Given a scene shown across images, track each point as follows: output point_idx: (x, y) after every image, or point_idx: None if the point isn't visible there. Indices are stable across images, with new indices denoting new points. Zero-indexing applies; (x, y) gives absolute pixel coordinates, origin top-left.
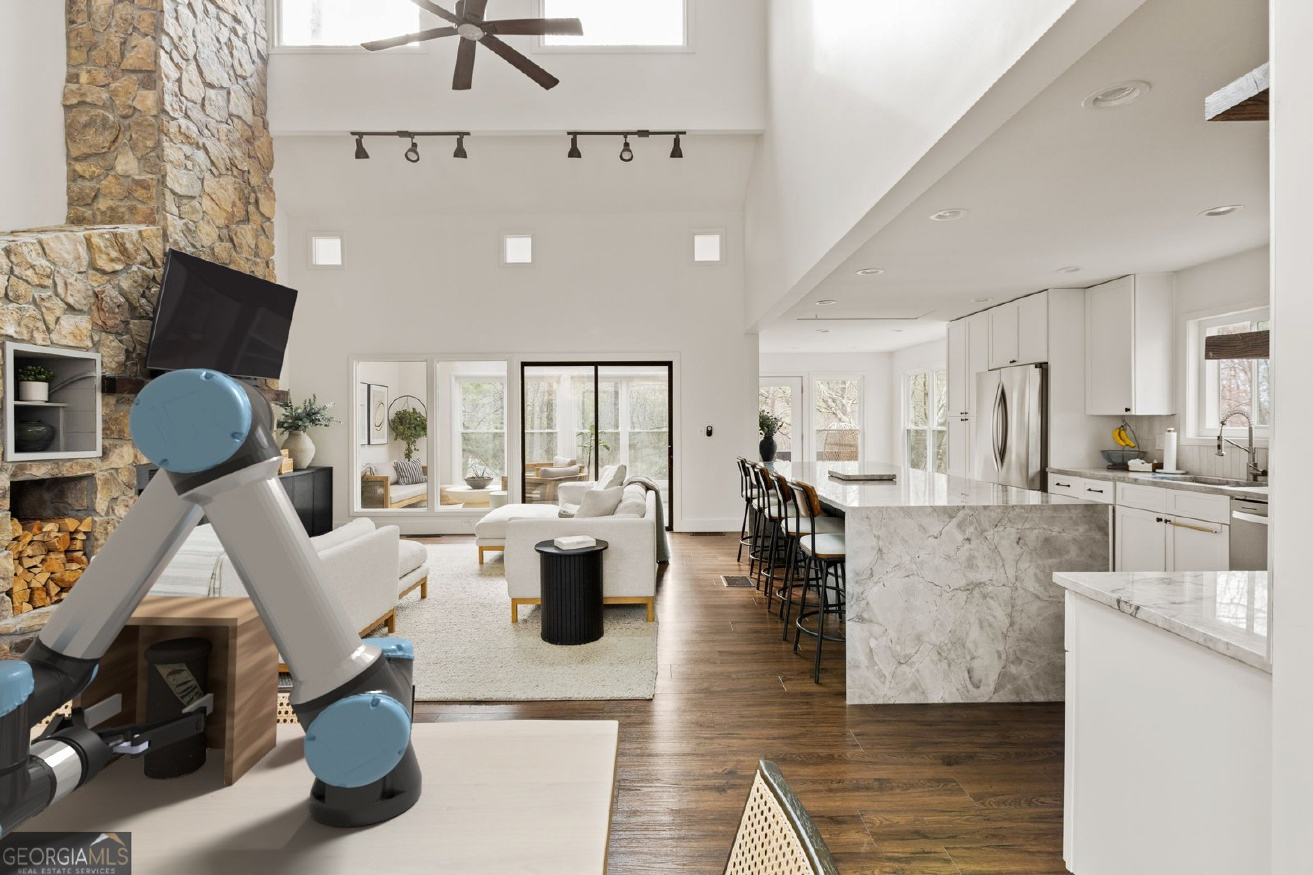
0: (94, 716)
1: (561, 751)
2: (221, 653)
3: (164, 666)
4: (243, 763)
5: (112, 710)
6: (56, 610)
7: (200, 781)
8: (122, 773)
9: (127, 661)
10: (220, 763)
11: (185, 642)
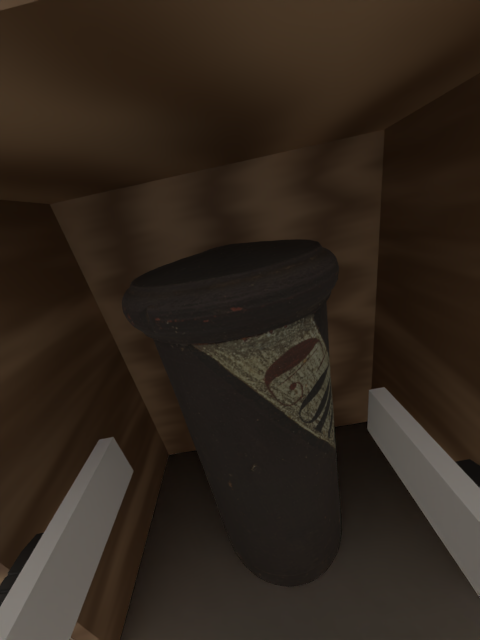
0: (47, 621)
1: None
2: None
3: (246, 346)
4: None
5: (111, 499)
6: None
7: (399, 580)
8: (190, 554)
9: (89, 340)
10: (348, 479)
11: (249, 244)
